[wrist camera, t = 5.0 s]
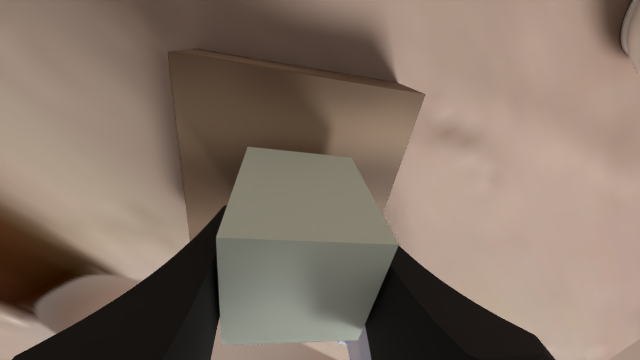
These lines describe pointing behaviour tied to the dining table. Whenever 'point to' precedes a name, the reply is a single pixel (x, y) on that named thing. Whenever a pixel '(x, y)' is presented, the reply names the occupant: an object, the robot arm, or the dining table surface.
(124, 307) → the robot arm
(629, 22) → the lidded jar
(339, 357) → the dining table surface
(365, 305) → the sage block
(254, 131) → the walnut box
